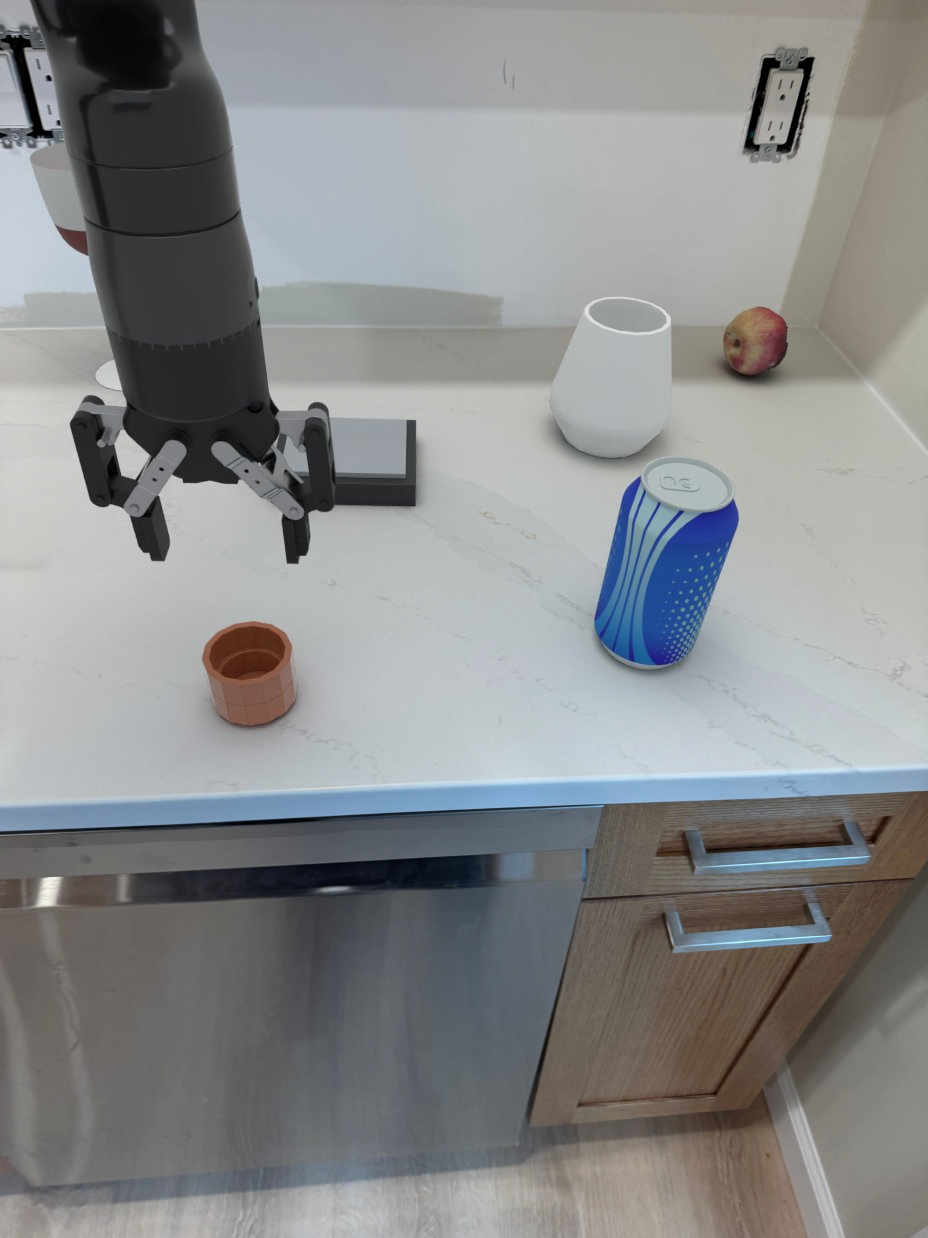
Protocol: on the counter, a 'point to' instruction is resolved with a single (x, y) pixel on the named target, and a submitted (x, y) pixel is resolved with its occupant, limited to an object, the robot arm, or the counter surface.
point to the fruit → (755, 341)
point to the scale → (366, 460)
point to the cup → (615, 378)
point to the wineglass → (66, 218)
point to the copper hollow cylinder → (250, 672)
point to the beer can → (665, 561)
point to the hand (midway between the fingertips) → (228, 554)
